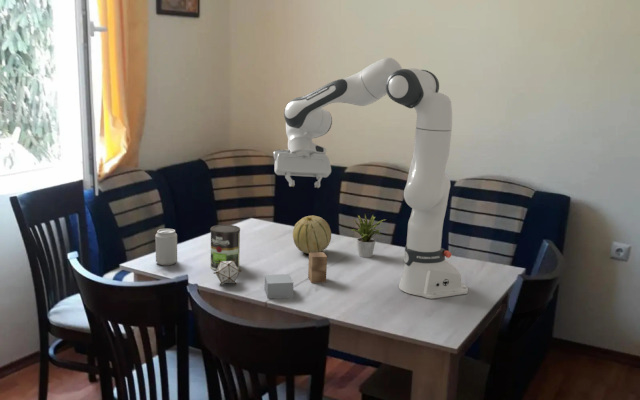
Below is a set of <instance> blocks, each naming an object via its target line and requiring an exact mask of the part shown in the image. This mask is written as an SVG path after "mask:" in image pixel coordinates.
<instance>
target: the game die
mask: <svg viewBox="0 0 640 400" xmlns="http://www.w3.org/2000/svg"><path fill="white" fill-rule="evenodd" d="M234 260H235V258H234V259H233V261H220V260H219V262H220V263H219V265H218V268H217V270H215V272H213V274H214V275H216V277H217V278H218V280H219V282H220V283H219V286H221V285H222V284H229V283H230V284H231V283H233V284H234V285H237V283H236V281H237V278H238V275H239V273H241V272H242V270H241V269H239V268H237V266H236V264H235V263H234Z"/></svg>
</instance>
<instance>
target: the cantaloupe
mask: <svg viewBox="0 0 640 400" xmlns="http://www.w3.org/2000/svg"><path fill="white" fill-rule="evenodd" d="M292 239H293V243H294V246H296V248H297V249H298V250H299V251H300V252H302V253H305V254H308V255H309V253H314V252H324V251H325V250H326V249H327V248H328V246H329V245H330V243H331V240H332V230H331V228H330V224H329V223H328V222H327V220H325V219H323V217H320V216H317V215H308V216H304V217H302V218H301V219H299V220H298V221H297V222H296V223H295V224H294V227H293V228H292Z"/></svg>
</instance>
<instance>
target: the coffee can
mask: <svg viewBox="0 0 640 400" xmlns="http://www.w3.org/2000/svg"><path fill="white" fill-rule="evenodd" d="M209 231H210V269H211V270H214V271H216V270H217V268H218V265H219V263H220V262H219V260H220V261H233V259H234V258H235V260H234V263H235V264H236V266H237V268H238V269H239V268H240V250H241V249H240V248H241V247H240V245H241V244H240V242H241V228H240V226H237V225H233V224H216V225H213V226H211V227H210V229H209Z"/></svg>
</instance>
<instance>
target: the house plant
mask: <svg viewBox="0 0 640 400" xmlns="http://www.w3.org/2000/svg"><path fill="white" fill-rule="evenodd" d="M357 218H358V221H359V223H358V221H356V220H355V219H353V221H354V223H355V224H356V225H357V226H358V229H355V228H353V229H351V231H353V232H356V233H358V234H359V235H360V237H357V239H356V241H357V252H358V256H359V257H360V258H372V257H373V253H374V249H375V246H376V245H375V244H376V239H375V238H373V237H375V236H376V235H380V236H382V234H381V231H380V230H381V229H383V227H382V228H377V227H378V226H379V225H381V224H384V219H381V220H379V221H378V222H376V223H375V224H374V222H375V218H376V216H374V214H372V215H371V217H370V219H369V221H368V219H367V215H366V214H364V219H362V218H361V216H360V215H357ZM386 220H387V219H386V218H385V221H386ZM376 228H377V229H376Z"/></svg>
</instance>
